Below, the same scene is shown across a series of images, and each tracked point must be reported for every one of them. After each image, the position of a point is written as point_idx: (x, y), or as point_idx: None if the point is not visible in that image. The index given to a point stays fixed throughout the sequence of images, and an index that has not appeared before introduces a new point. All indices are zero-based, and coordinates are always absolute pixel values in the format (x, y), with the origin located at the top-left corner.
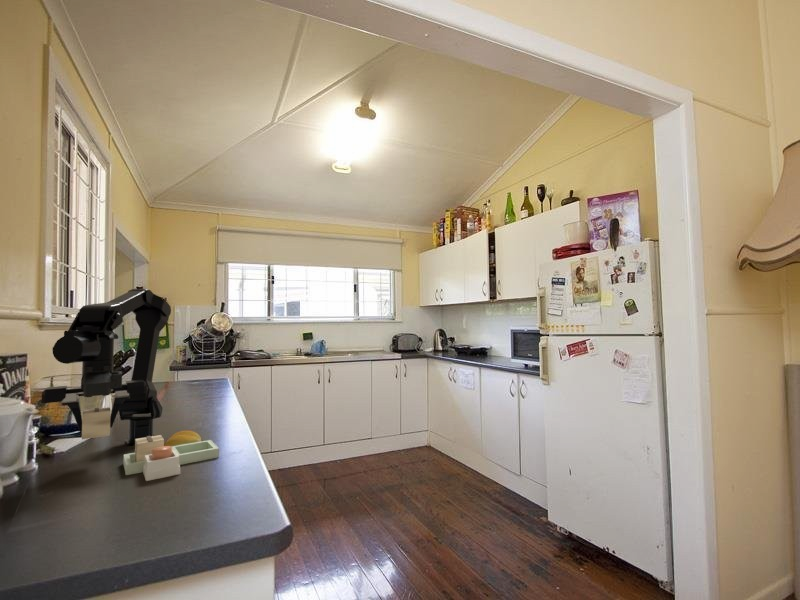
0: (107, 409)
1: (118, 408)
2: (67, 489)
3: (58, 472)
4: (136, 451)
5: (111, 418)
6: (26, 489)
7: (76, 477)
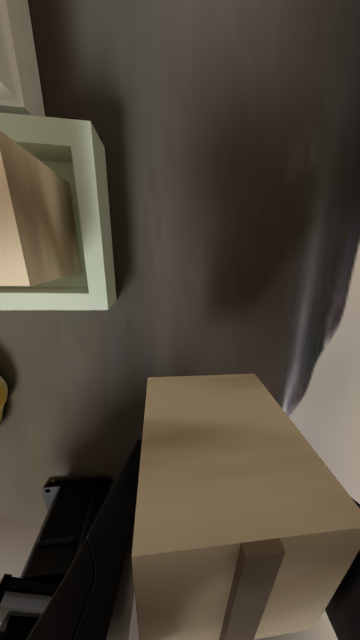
0: (160, 604)
1: (55, 607)
2: (257, 159)
3: (256, 350)
4: (38, 190)
5: (134, 488)
6: (327, 250)
7: (227, 273)
